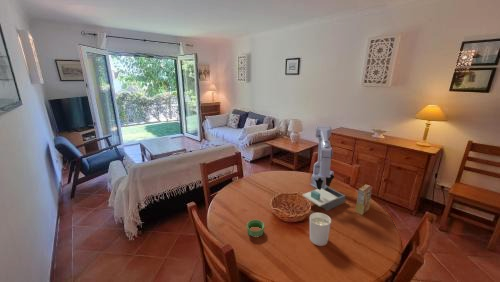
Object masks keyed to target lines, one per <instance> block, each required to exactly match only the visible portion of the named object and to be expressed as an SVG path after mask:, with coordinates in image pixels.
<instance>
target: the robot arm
mask: <svg viewBox="0 0 500 282" xmlns="http://www.w3.org/2000/svg"><path fill="white" fill-rule="evenodd" d="M331 135H332V126H330V125H326V126H325V125H316V127H315V138H316V139H318V153H317V161H316V162H315V163H314V164H313V172H312V175H311V178H310V184H309V185H310V186H312V187H313V188H316V189H319V190H321V188H325V187H329V188H330V186H331V183H332V181H333V180H334V179H335V175H334V174H335V172H334V171H333V170H331V161H332V158H333V153H334V151H333V148H332V145H331V141H330V140H329V138H330V137H331Z"/></svg>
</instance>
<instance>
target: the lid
mask: <svg viewBox="0 0 500 282" xmlns="http://www.w3.org/2000/svg"><path fill="white" fill-rule="evenodd" d="M301 196H302V197H303V198H305V199H307V200H308V201H310V202H311V203H313V204H315V205H316V206H318V207H320V206H322V205H325V204H327V203H329V202H331V201H334V200H336V199H338V197H337V196H335V195H333V194H331V193H329V192H327V191H325V190H324V189H322V188H321V190H319V189H317V188H316V189H313V190H311V191H308V192H306V193H303V194H302V195H301ZM320 208H321V207H320Z"/></svg>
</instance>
